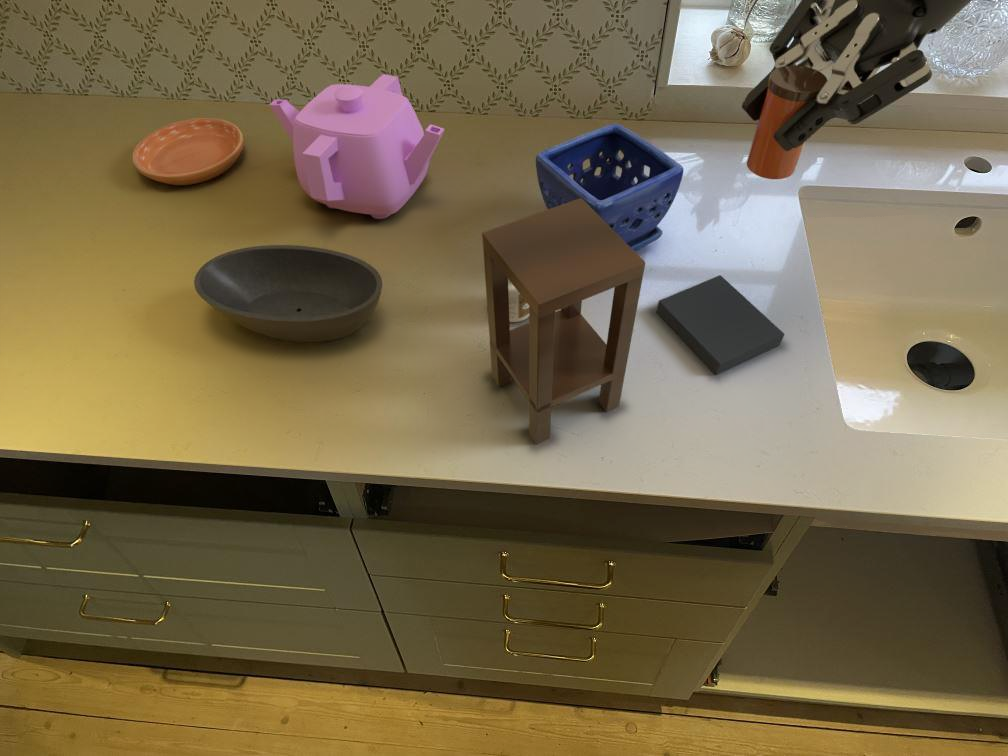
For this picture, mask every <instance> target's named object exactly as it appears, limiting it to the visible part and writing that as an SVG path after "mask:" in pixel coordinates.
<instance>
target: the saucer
mask: <svg viewBox="0 0 1008 756" xmlns="http://www.w3.org/2000/svg"><path fill="white" fill-rule="evenodd" d="M244 144H245V143H244V136H243V133H242V131H241V130H240V128H239V127H238V126H237V125H235V124H234V123H232V122H230V121H227V120H224V119H220V118H214V117H213V118H211V117H198V118H190V119H185V120H180V121H175V122H173V123H170V124H167V125H164V126H162V127H160V128H158V129H156V130H154V131H153V132H151V133H148V135H146V136H145V137H143V138H142V139H141V140H140V141H139V143H138V144H137V145H136V146H135V147H134V150H133V152H132V156H131V157H132V158H131V159H132V163H133V165H134V167H135V169H137V171H138V172H139V173H140V174H141V175H143V176H145V177H147V178H148V179H151V180H153V181H156V182H158V183H163V184H167V185H173V186H189V185H195V184H196V185H197V184H201V183H204V182H207V181H210V180H212V179H215V178H217V177H219V176H221V175H222V174H224V173H226V172H227V171H228V170H229V169H230V168H231V167H232V166H233V165H234V164H235V162H236V161H237V159H239V157H240V155H241V153H242V151H243V148H244Z"/></svg>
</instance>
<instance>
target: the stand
mask: <svg viewBox="0 0 1008 756" xmlns="http://www.w3.org/2000/svg"><path fill="white" fill-rule="evenodd" d="M481 235H482V237H481V239H482V251H483V265H484V278H485V279H484V281H485V294H486V295H485V296H486V306H487V307H486V308H487V320H488V335H489V351H490V364H491V376H492V379H493V381H494V382H495V384H496V386H497V387H498V388H501V387H503V386H506V385H508V384H510V383H512V382H513V381H512V379H513V380H514V382H515V383H516V385H517V386H518V388H519V389H520V390H521V392H522V393H523V395H524V396H525V398H526V399H527V401H528V407H529V408H528V434H529V436H530V437H531V439H532V440H533V442H534V444H535V445H539V444H542V443H543V442H545V441H548V440H550V439H551V422H552V421H551V419H552V407H555V406H556V405H559V404H561V403H564V402H566V401H568V400H570V399H572V398H575V397H576V396H579V395H581V394H583V393H585V392H589V391H590V390H593V389H594V388H598V387H599V386H600V389H599V396H598V404H599V405H600V406H601V407H602V409H603V410H604V411H605V413H609V412H611V411H613V410H615V409H617V408H619V407H620V402H621V398H622V392H623V387H624V382H625V376H626V370H627V365H628V361H629V360H628V359H629V354H630V348H631V343H632V339H633V332H634V326H635V321H636V317H637V311H638V305H639V300H640V293H641V289H642V284H643V278H644V277H643V276H644V273H645V267H646V262H645V260H644V259H643V258H642V257H641V256H640V255H639V254H638V253H637V252H636V251H634V250H633V249H632V248H631V247H630V246H629V245H628V244H627V243H626V242H625V241H624V240H623V239H622V238H621V237H620V236H619V235H618V234H617V233H616V232H615V231H614V230H613V229H612V228H611V227H610V226H609V225H608V224H607V223H606V222H605V221H604V220H603V219H602V218H601V217H600V216H599V215H598V214H597V213H596V212H595V211H594V210H593V209H592V208H591V207H590V206H589V205H588V204H587V203H586V202H585V201H584V200H583V199H582V198H580V199H577V200H574V201H571V202H568V203H566V204H563V205H560V206H557V207H554V208H551V209H545V210H543V211H539V212H538V213H537V212H536V213H535V214H532V215H529V216H525V217H523V218H520V219H517V220H514V221H512V222H509V223H506V224H503V225H501V226H500V225H499V226H498V227H495V228H492V229H489V230H486V231H484V232H481ZM508 279H509V280H510V282H511V283H512V284H513V285H514V287H515V288H516V289H517V291H518V292H519V293H520V294H521V296H522V297H523V298H524V300H525V301H526V302H527V304H528V305H529V317H528V322H526V323H525V324H522V325H520V326H517V327H514V328H512V329H511V325H510V324H511V322H509V293H508ZM611 289H614V290H613V296H612V302H611V311H610V318H609V325H608V332H607V337H606V338H607V339H606V342H605V340H603V338H602V337H601V336H600V335H599V334H598V332H597V331H596V330H595V328H594V327H593V326H592V325H591V324H590V323H589V321H587V319H586V318H585V317H584V316H583V315H582V306H583V305H582V304H583V301H584V300H587V299H589V298H591V297H594V296H597V295H599V294H601V293H605V292H606V291H609V290H611Z"/></svg>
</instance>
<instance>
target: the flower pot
mask: <svg viewBox="0 0 1008 756" xmlns="http://www.w3.org/2000/svg"><path fill="white" fill-rule="evenodd" d="M619 152H621V153H622V155H623V157H622V158H621V157H620V156H619ZM600 154H601V155H600ZM587 160H588V161H589V166H588V167H586V168H584V162H585V161H587ZM629 163H630V164H629ZM618 167H619V168H620V169H621V174H620V176H619V175H617V168H618ZM645 167H648V168H649V172H648V173H649V174H648V175H646V173H645ZM535 168H536V176H537V182H538V186H539V190H540V194H541V197H542V200H543V202H544V204H545V207H546V210H548V209H551V208H554V207H557V206H560V205H563V204H566V203H568V202H571V201H574V200H577V199H580V198H582V199H583V200H584V201H585V202H586V203H587V204H588V205H589V206H590V207H591V208H592V209H593V210H594V211H595V212H596V213H597V214H598V215H599V216H600V217H601V218H602V219H603V220H604V221H605V222H606V223H607V224H608V225H609V226H610V227H611V228H612V229H613V230H614V231H615V232H616V233H617V234H618V235H619V236H620V237H621V238H622V239H623V240H624V241H625V242H626V243H627V244H628V245H629V246H630V247H631V248H632V249H633V250H634V251H635V252H636V251H637V250H640V249H642V248H644V247H646V246H648V245H650V244H652V243H654V242H655V241H657V240H658V239H660V237H662V235H663V230H662V229H661V228H660V227H658V225H659V224H660V223H661V222H662V221H663V219H664V218H665V217H666V215H667V213H668V212H669V210H670V208H671V206H672V205H673V203H674V201H675V200H676V196H677V194H678V192H679V189H680V186H681V183H682V181H683V176H684V167H683V166H682V164H680V163H679V162H677V160H675V159H673V158H672V157H670V156H669V155H668V154H666V153H665V152H664V151H662V150H661V149H659V148H658V147H657V146H655V145H653V144H652V143H651V142H649V141H648V140H646V139H644V138H643V137H641V136H639V135H638V134H637V133H635V132H633V131H632V130H630V129H629V128H627V127H625V126H623V125H621V124H619V123H615V122H614V123H610V124H608V125H604V126H602V127H598V128H597V129H593V130H591V131H588V132H586V133H582V134H580V135H578V136H576V137H573V138H571V139H569V140H566V141H564V142H561V143H558V144H556V145H554V146H551V147H548V148H546V149H544V150H542V151H540V152H539V153H537V154H536V156H535ZM598 168H600V173H599V174H595V173H596V171H597V169H598ZM571 175H572V177H570V176H571ZM635 178H636V180H637V181H636V182H635Z"/></svg>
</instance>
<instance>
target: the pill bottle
mask: <svg viewBox="0 0 1008 756" xmlns="http://www.w3.org/2000/svg"><path fill="white" fill-rule="evenodd" d="M508 293H509V322H510V323H518V322H522V321H524V320H526V319H529V305H528V304H527V302H526V301H525V300H524V298H523V297H522V296H521V294H520V293H519V292H518V291H517V289H516V288H515V287H514V285H513V284H512V283H511V282H510V280H509V279H508Z"/></svg>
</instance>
